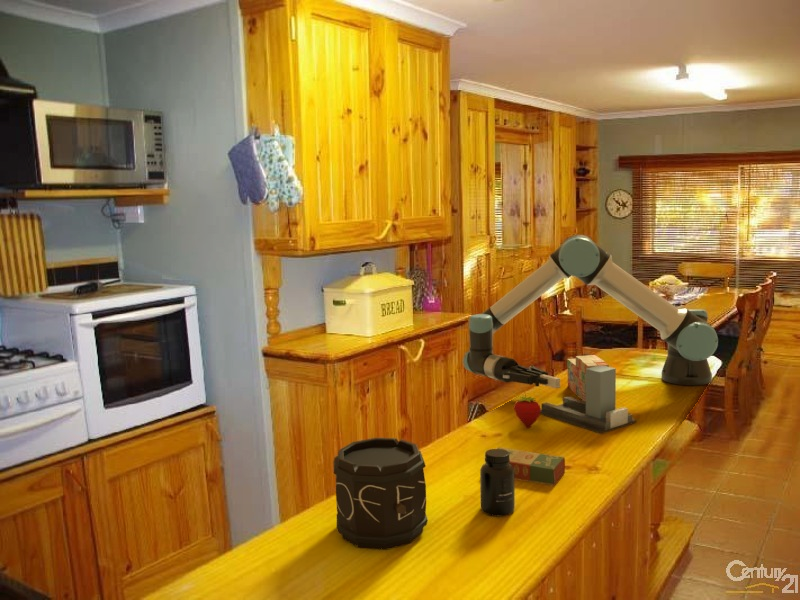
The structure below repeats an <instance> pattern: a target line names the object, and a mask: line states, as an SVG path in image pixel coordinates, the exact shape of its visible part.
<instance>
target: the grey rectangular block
mask: <svg viewBox="0 0 800 600" xmlns="http://www.w3.org/2000/svg"><path fill="white" fill-rule="evenodd" d="M616 371H617V370H616V368H615V367H612V366H611V367H610V366H609V367H607V366H603V365H599V366H595V367H591V368H587V369H586V415H590V416H593V417H596V418H600V419H603V420H606V412H609V411H612V410H615V409H616V407H617V406H616V400H617V399H616V398H617V397H616V395H617V394H616V393H617V391H616V388H617V387H616V381H617V380H616Z"/></svg>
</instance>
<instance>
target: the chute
mask: <svg viewBox="0 0 800 600" xmlns="http://www.w3.org/2000/svg"><path fill="white" fill-rule="evenodd" d="M540 404H541V405H540V408H541V411H540V415H542V416H545V417H549V418H550V419H551V418H552V419H555V420H559V421H560V422H564V423H567V424H570V425H573V426H576V427H579V428H583V429H586V430H588V431H591V432H595V433H597V434H605V433H608V432H611V431H615V430H617V429H620V428H623V427H626V426H629V424H630V425H632V424H631V423H633V424H636V423H637V420H636V419H633V414H631V413H629V411H628V410H629V408H628V407H624V406H623V407H622V406H621V407H619V408H615V410H612V411H609V412H606V420H603V419H600V418H596V417H593V416H590V415H586V402H585V401H582V400H581V399H578V398H575V397H572V396H565V397H562V403H561V404H558V405H556V404H553V403H550V402H543V403H540ZM635 422H636V423H635ZM622 426H623V427H622Z"/></svg>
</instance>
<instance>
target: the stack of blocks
mask: <svg viewBox="0 0 800 600" xmlns="http://www.w3.org/2000/svg"><path fill="white" fill-rule="evenodd" d="M599 365H603V366H607V367H610V365H609V364H608V363H606V361H605V360H603V359H602V358H600V357H599V356H597V355H596V354H591V355H590V354H588V355H576V356H575V358H567V359H566V368H567V387H568V388H569V389H570V391H572V393H574V394H575V395H576V394H577V395H578V396H579V397H580V398H581V399H582V400H583V401H585V402H586V369H587V368H591V367H595V366H599ZM577 395H576V396H577ZM578 396H577V397H578ZM579 397H578V398H579ZM580 398H579V399H580ZM581 399H580V400H581Z"/></svg>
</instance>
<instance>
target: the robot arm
mask: <svg viewBox="0 0 800 600" xmlns="http://www.w3.org/2000/svg"><path fill="white" fill-rule="evenodd" d="M570 277H575V278H577V279H578V280H580V281H581V282H582V283H584V284H585V285H586V286H596V287H598V288H599V289H600V290H602V291H603V292H605V293H606V294H608V295H609V296H610V297H612V298H613V299H614V300H616V301H617V302H618V303H619V304H621V305H622V306H624V307H625V308H627V309H628V310H630V311H631V312H632V313H633V314H635V315H636V316H638V317H639V318H640V319H642V320H643V321H644V322H646V323H648V325H650V326H651V327H653V328H655V330H657V331H658V332H659V335H660V339H661V340H663V342H665V343H667V356H666V359H665V362H664V365H663V366H662V370H661V380H662V381H664V382H665V383H666V382H667V383H669V384H672V385H679V386H703V385H708V384H711V383H712V382H713V373H712V371H711V367H710V364H709V361H708V358H710V357H711V356H712V355H714V353H715V352H716V351H717V348H718V346H719V338H718V334H717V331H716V330H715V328H714V327H713V326H712V325H710V324H709V323H708V319H709V316H708V311H707V310H705V309H692V308H689V309H688V308H685V307H684V308H677V307H676V306H675V305H673V304H672V303H671V302H669V301H667V300H666V299H665V298H663V297H662V296H661V295H659V294H658V293H656V292H655V291H654V290H652V289H651V288H649V287H648V286H647V285H646V284H644V283H642V281H640V280H639V279H637V278H636V277H634V276H633V275H631V274H630V273H629V272H628V271H625V270H624V269H623V268H621V267H620V266H619V265H617V264H616V263H614V261H613V257H612V254H610V253H609V252H608V251H607V250H605V249H604V248H603V247H602V246H600V245H598V244H597V243H595V241H594V240H593V238H591V237H589V236H588V235H585V234H573V235H571V236H569V237H567V238H566V239H565V240H564V241H563V242H562V243H561V245H560V246H559V247H558V248H557V249H556V250H555V251H553V252H552V253H551V254H550V255H549V256H548V260H547V261H546V262H545V263H543V264H542V265H540V267H538V269H536V270H534V272H532V273H531V274H529V275H528V276H527V277H526V278H524V279H523V280H522V281H521V282H520V283H519V284H517V285H516V286H515V287H514V288H512V289H511V290H510V291H508V292H507V293H506V294H504V296H502V297H501V298H499V300H497V301H496V302H494V304H493V305H491V306H490V307H489V308H487V309H486V310H485V311H483V312H482V313H477V314H473V315H470V317H469V319H468V329H469V330H468V335H469V337H468V339H469V350H467V351H466V352H465V353H464V356H463V358H462V363H463V364H462V365H463V367H464V368H465V370H466V371H467V372H468V371H469V372H471V373H473V374H474V375H480V376H483V377H487V378H491V379H494V381H501V382H504V383H512V382H514V383H519V384H523V385H524V384H525V385H530V386H532V385H534V384H535V387H539V386H540V385H542V386H546V387H550V388H553V389H560V388H561V378H560V377H556V376H551V375H550V374H549V372H547V371H545V370H543V369H540V368H538V367H536V366H534V365H530V366H529V367H526V366H524V365H521V364H518V362H517V360H515V359H514V358H511V357H508V356H507V357H506V356H504V355H498V354H495V353H494V342H493V341H494V339H493V338H494V334H495V333H496V332H497V331H498V330H499V329H501V328H503V326H504V325H505V324H506V323H508V322H510V321H511V320H512V319H514V318H515V317H516V316H517V315H518V314H520V313H521V312H522V311H523V310H525V309H526V308H527V307H528V306H530V305H531V304H533V302H535V301H536V300H538V299H539V298H540V297H541V296H543V295H544V294H545V293H546V292H548V291H549V290H550V289H552V288H553V287H554V286H555V285H556V284H558V283H559V282H560V281H562V280H564V279H570Z"/></svg>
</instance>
